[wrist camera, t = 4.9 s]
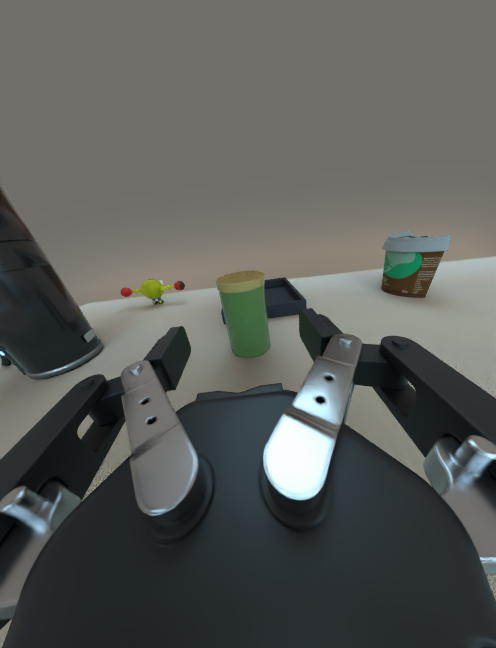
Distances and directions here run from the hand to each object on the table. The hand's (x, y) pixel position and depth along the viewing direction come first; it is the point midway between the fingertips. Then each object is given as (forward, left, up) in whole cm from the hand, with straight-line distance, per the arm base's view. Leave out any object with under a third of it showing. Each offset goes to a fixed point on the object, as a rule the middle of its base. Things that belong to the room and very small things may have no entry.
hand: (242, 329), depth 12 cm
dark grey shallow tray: (+3, +27, -9) cm, 29 cm away
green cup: (0, +11, -9) cm, 14 cm away
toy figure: (-25, +37, -9) cm, 45 cm away
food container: (+30, +24, -9) cm, 39 cm away
